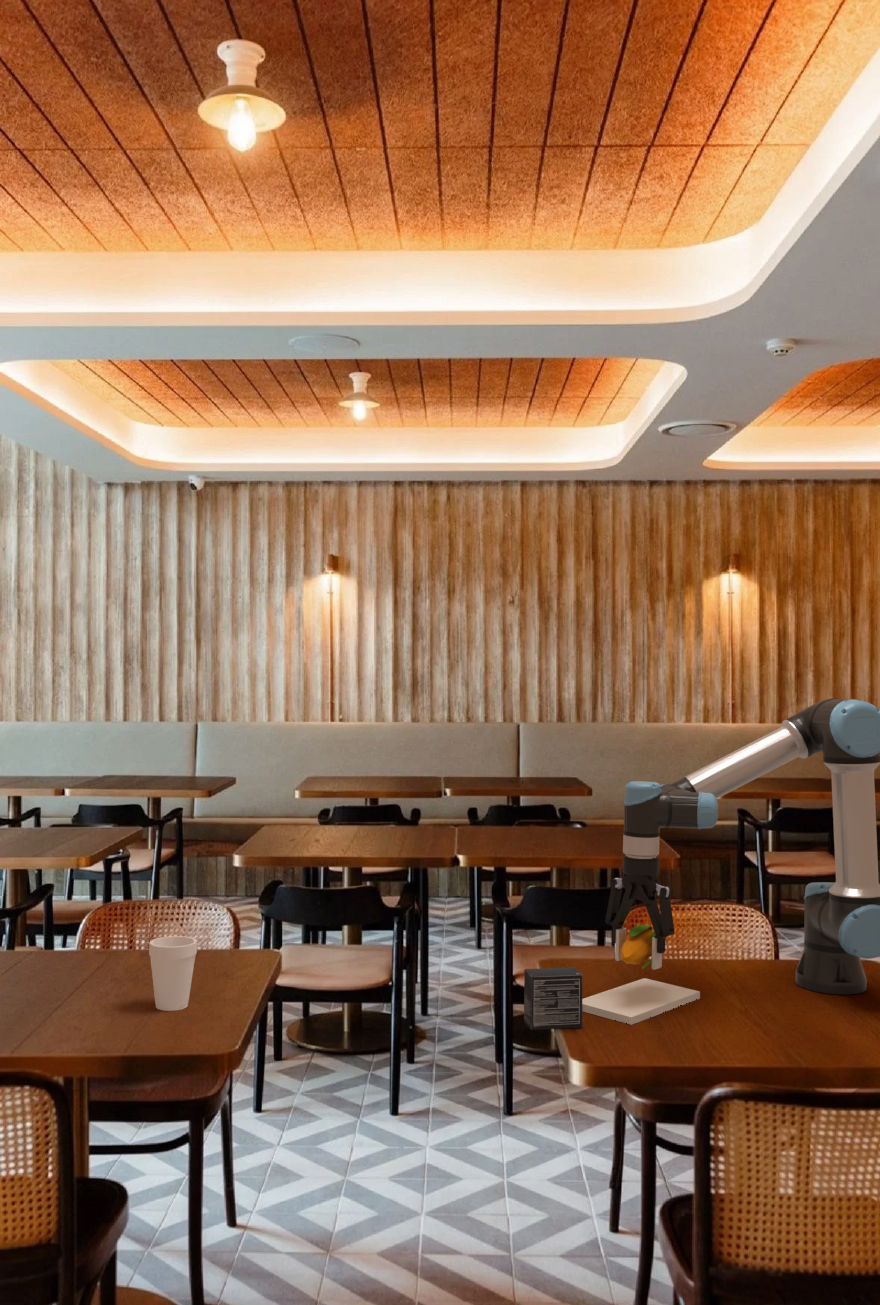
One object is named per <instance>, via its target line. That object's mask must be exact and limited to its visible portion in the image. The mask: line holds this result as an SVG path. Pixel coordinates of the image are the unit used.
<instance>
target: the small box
mask: <svg viewBox="0 0 880 1305" xmlns="http://www.w3.org/2000/svg"><path fill="white" fill-rule="evenodd" d="M523 971H524V973H523V974H524V975H523V976H524V979H523V980H524V981H523V982H524V984H523V990H524V991H523V992H524V993H523V998H524V999H523V1021H524V1023H525V1024H526V1025H527V1027H528V1028H529V1029H530V1030H532V1031H540V1030H541V1031H543V1030H560V1029H561V1030H562V1029H563V1028H566V1029H582V1028H583V1027H584V1026H583V1025H584V1024H583V1011H582V999H583V975H584V974H582V973H581V972H580V971H579V970H578V969H576V968H575V967H549V968H548V967H547V968H546V967H545V968H543V967H542V968H524V970H523ZM563 1030H564V1029H563Z"/></svg>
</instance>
